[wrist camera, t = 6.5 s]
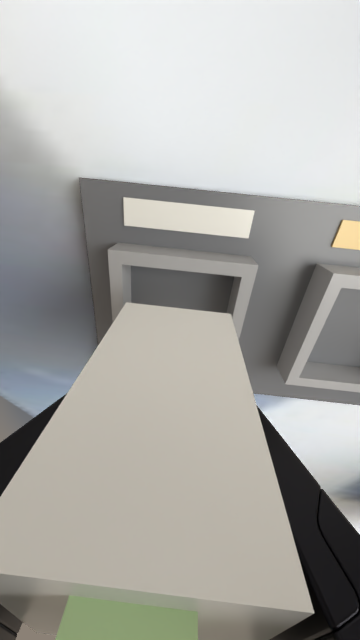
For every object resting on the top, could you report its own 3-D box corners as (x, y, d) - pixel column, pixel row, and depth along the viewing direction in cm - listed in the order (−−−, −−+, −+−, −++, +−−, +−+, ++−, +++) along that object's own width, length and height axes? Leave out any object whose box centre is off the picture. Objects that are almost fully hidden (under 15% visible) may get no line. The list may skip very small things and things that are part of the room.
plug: (230, 313, 9) (359, 778, 2) (213, 389, 11) (244, 745, 4) (126, 302, 9) (-140, 711, 2) (128, 379, 11) (6, 712, 4)
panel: (509, 221, 11) (586, 228, 8) (376, 398, 17) (402, 428, 14) (86, 178, 11) (60, 175, 9) (105, 368, 17) (92, 393, 15)
